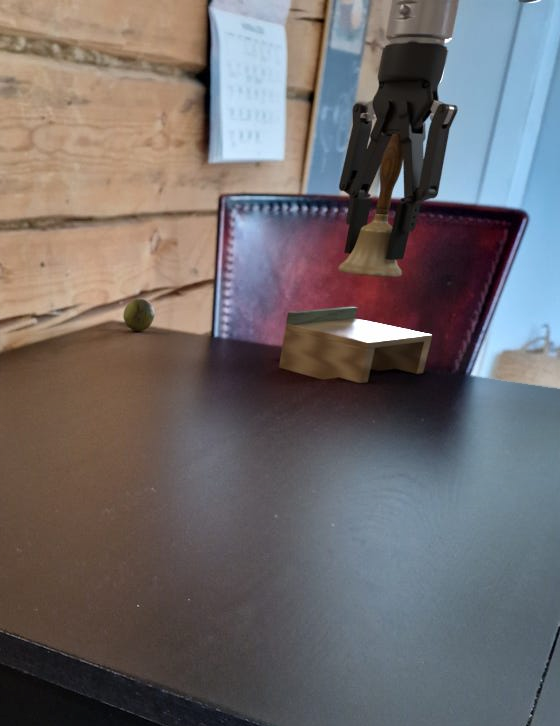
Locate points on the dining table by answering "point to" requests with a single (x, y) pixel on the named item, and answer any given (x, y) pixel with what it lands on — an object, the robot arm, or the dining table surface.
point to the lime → (138, 315)
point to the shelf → (348, 345)
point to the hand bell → (378, 223)
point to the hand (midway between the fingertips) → (373, 255)
